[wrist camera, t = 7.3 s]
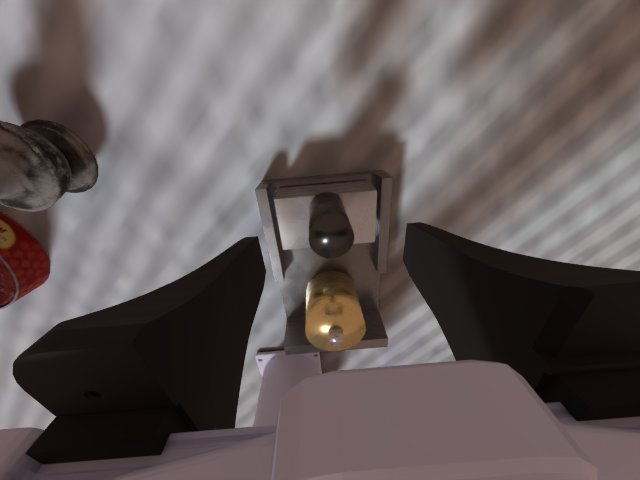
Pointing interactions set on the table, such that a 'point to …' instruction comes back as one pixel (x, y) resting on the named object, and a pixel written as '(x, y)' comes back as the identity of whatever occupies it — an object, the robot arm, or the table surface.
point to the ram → (327, 216)
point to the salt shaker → (42, 165)
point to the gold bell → (333, 312)
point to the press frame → (328, 261)
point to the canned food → (19, 262)
